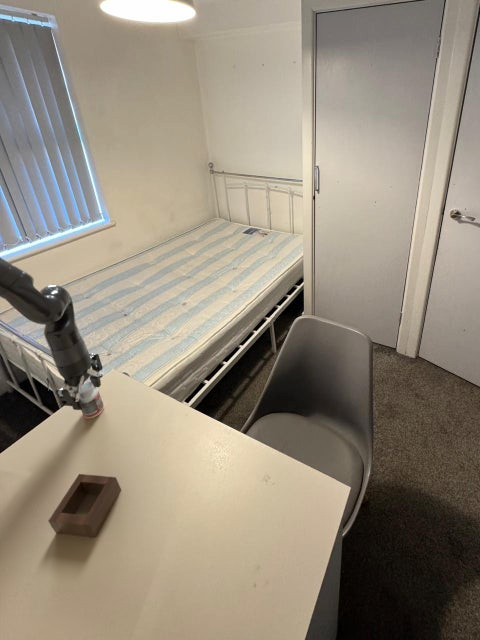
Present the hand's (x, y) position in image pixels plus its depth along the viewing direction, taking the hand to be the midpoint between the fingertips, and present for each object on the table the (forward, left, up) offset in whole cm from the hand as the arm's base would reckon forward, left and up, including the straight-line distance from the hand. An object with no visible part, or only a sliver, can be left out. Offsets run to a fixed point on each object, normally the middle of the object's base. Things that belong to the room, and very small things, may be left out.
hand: (88, 397), depth 93 cm
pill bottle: (0, 0, -6) cm, 6 cm away
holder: (+16, -24, -6) cm, 29 cm away
